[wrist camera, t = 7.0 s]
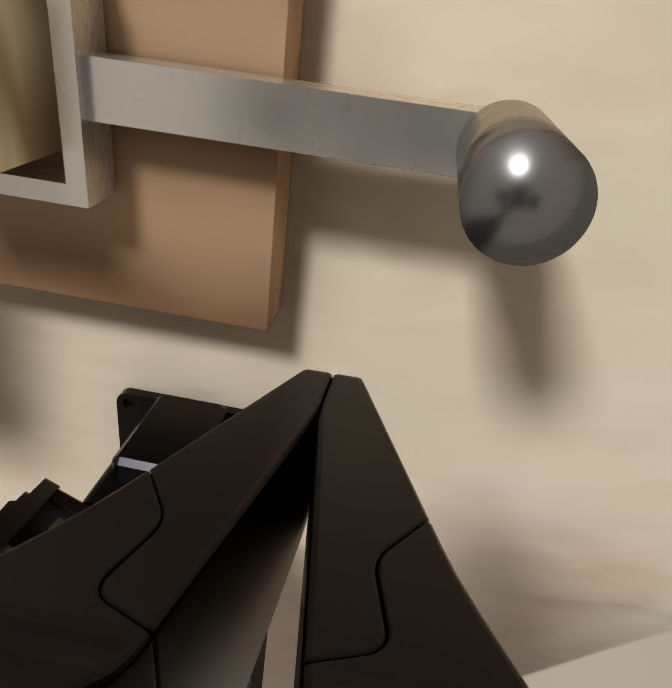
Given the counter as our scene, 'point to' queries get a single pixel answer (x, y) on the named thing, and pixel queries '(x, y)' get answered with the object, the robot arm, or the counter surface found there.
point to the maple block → (26, 84)
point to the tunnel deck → (174, 184)
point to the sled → (313, 136)
